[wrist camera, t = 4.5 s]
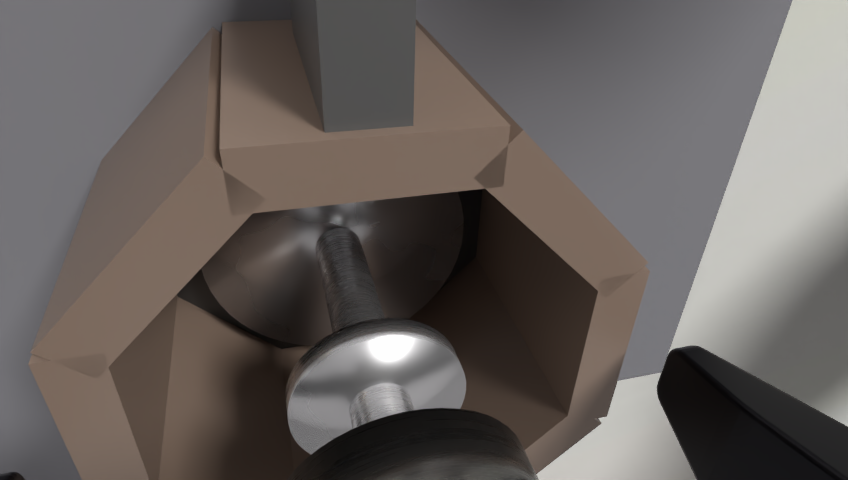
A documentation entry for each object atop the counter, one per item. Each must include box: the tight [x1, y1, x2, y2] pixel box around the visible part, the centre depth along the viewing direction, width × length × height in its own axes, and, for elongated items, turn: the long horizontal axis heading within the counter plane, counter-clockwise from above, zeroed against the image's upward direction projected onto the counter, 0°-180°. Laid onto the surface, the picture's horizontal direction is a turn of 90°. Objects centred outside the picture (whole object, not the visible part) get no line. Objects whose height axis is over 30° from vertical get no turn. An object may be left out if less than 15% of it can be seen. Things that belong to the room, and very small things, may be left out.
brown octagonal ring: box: [28, 0, 650, 480], centre depth 10 cm, size 8×11×5 cm
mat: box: [0, 0, 792, 480], centre depth 13 cm, size 20×14×1 cm
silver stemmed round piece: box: [201, 192, 539, 480], centre depth 9 cm, size 5×5×8 cm
